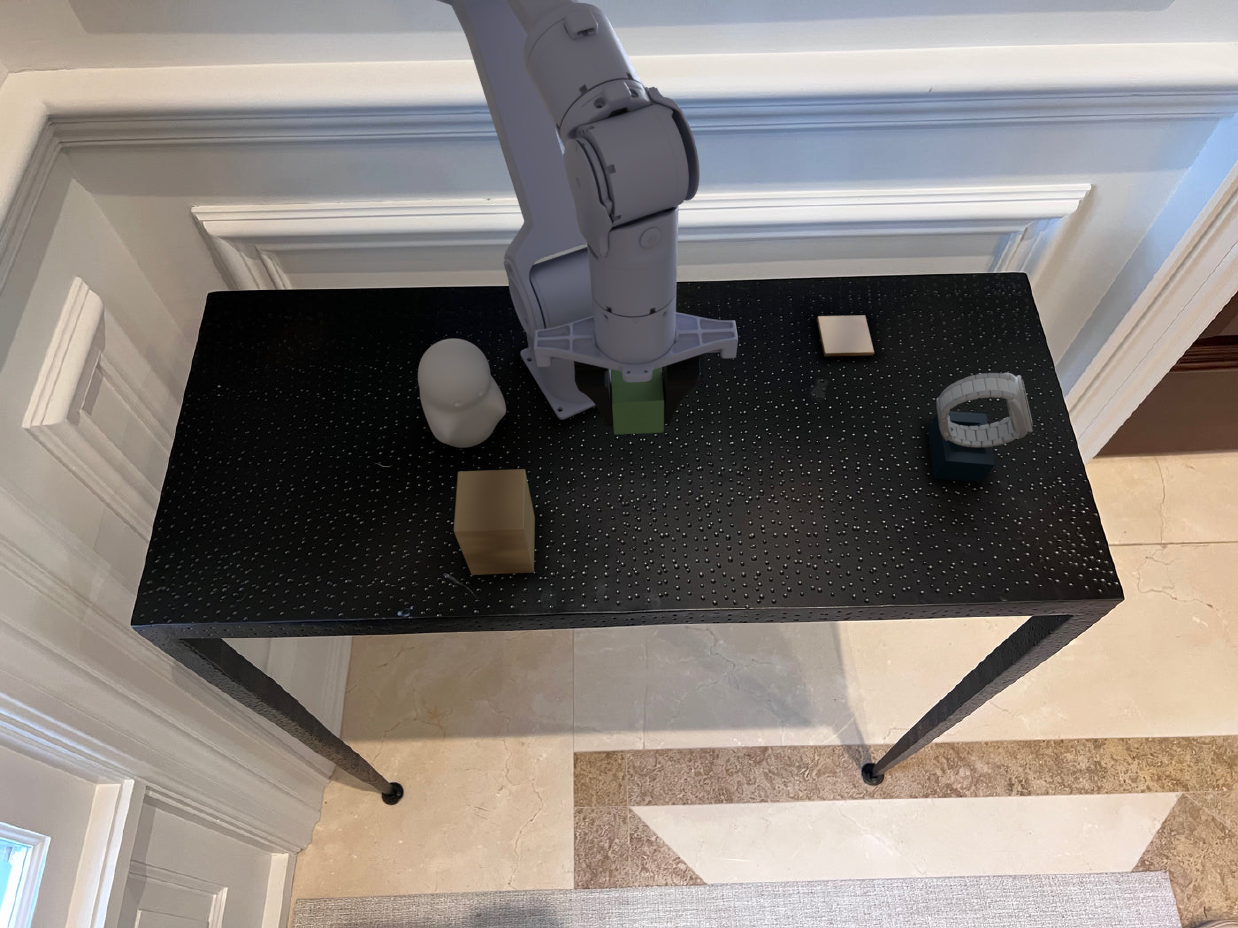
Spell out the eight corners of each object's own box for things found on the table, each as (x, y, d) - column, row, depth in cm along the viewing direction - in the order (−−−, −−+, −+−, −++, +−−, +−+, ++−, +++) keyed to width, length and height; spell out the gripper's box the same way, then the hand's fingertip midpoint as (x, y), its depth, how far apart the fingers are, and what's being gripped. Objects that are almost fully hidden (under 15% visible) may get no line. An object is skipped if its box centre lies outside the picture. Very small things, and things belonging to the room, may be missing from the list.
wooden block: (471, 575, 68) (453, 531, 61) (474, 519, 71) (457, 471, 64) (534, 572, 68) (523, 528, 61) (534, 517, 71) (524, 468, 64)
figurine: (451, 470, 73) (424, 394, 63) (417, 413, 77) (385, 332, 66) (518, 436, 75) (502, 357, 65) (482, 382, 79) (461, 298, 68)
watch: (1003, 484, 73) (1060, 416, 63) (914, 476, 73) (957, 407, 64) (994, 433, 75) (1047, 361, 66) (908, 426, 76) (949, 353, 66)
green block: (613, 435, 63) (611, 402, 60) (612, 397, 66) (610, 364, 62) (663, 432, 63) (664, 400, 60) (660, 394, 66) (661, 362, 62)
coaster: (824, 356, 80) (825, 353, 80) (816, 319, 83) (817, 316, 82) (873, 355, 80) (874, 352, 80) (863, 318, 83) (865, 315, 83)
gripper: (523, 335, 51) (547, 459, 62) (749, 324, 50) (732, 451, 61) (527, 262, 55) (549, 391, 66) (736, 252, 54) (723, 383, 66)
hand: (637, 415), depth 64 cm, fingers closed on green block, 4 cm apart
